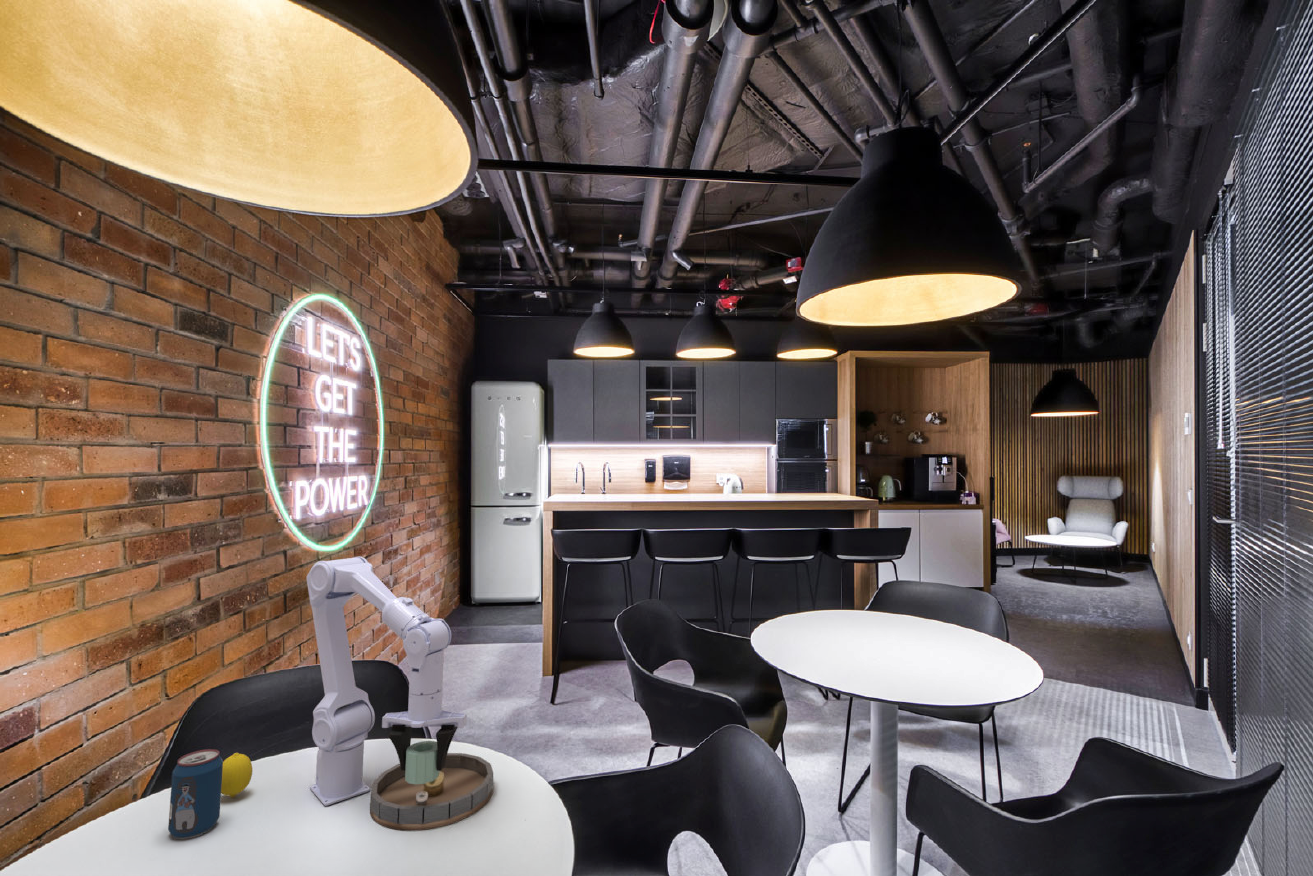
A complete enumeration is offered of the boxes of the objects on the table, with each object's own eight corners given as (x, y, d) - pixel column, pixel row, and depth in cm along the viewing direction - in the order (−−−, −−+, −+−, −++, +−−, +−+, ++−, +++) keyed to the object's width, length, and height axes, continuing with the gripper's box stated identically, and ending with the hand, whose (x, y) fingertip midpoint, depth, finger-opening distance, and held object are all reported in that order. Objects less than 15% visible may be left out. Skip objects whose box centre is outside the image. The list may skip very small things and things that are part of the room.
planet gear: (400, 776, 107) (401, 747, 107) (431, 766, 111) (432, 738, 111) (413, 787, 103) (414, 757, 103) (444, 776, 107) (445, 747, 107)
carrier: (351, 797, 112) (352, 775, 112) (459, 760, 127) (459, 741, 128) (398, 846, 97) (399, 820, 97) (514, 798, 112) (514, 775, 113)
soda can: (215, 814, 106) (219, 744, 107) (222, 830, 101) (227, 756, 102) (165, 829, 101) (170, 756, 102) (170, 847, 96) (175, 769, 98)
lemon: (208, 801, 110) (211, 756, 111) (238, 787, 116) (241, 744, 116) (227, 807, 108) (230, 762, 109) (257, 793, 113) (260, 749, 114)
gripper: (375, 697, 104) (372, 778, 103) (458, 698, 104) (456, 778, 103) (393, 684, 111) (390, 760, 110) (470, 684, 111) (468, 760, 110)
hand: (423, 768), depth 107 cm, fingers closed on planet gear, 6 cm apart
